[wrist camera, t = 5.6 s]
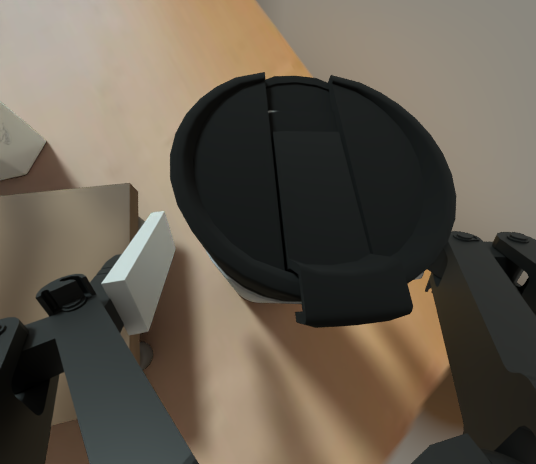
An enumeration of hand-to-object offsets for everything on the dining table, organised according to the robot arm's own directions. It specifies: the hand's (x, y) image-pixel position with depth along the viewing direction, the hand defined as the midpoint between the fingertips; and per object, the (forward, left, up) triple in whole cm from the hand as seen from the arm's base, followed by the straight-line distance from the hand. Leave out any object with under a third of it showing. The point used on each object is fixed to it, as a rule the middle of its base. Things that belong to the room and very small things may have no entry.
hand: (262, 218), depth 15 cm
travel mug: (0, -3, -10) cm, 10 cm away
